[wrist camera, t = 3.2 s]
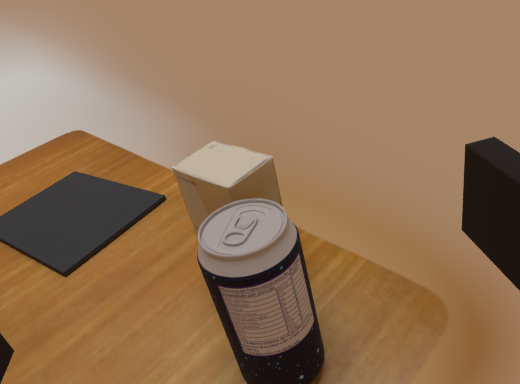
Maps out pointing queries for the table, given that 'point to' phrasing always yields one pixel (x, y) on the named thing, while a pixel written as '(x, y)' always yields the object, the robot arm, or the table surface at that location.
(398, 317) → the table surface
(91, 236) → the slate mat
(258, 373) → the beverage can
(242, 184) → the cosmetic box
